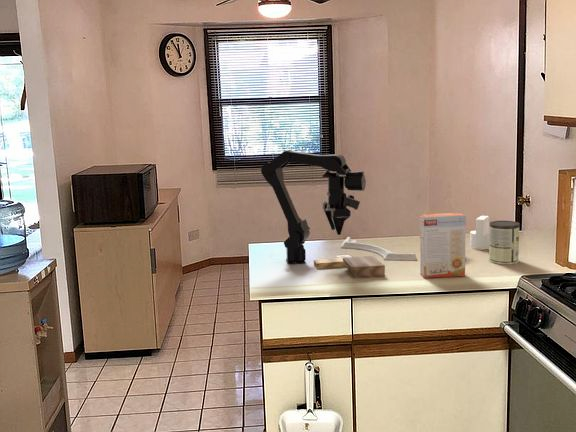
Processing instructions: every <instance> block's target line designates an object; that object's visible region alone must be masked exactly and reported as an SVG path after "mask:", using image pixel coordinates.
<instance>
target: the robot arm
mask: <svg viewBox="0 0 576 432" xmlns="http://www.w3.org/2000/svg"><path fill="white" fill-rule="evenodd" d="M290 162H291V163H296V164H303V165H304V164H305V165H311V166H316V167H320V168H321V169H324V170H326V171H325V172H324V174H323V175H322V178H328V179H327V181H328V182H327V191H326V195H327V197H328V198H327V201H326V200H325V201H324V202H323V203H322V209H323V212H324V215H325V217H326V219H327V221H328V224H329V227H330V229H331V231H335V232H336V235H337V236H341V234H342V231H343V228H344V223H345V221H346V220H348V219H349V218H350V217H351V210H350V209H349V208H352V209H354V210H358V209H359V206H360V203H361V201H360V200H358V199H355V196H354V195H352V194H348V195H347V194H346V192H345V189H347V190H348V191H357V192H358V191H359V192H360V191H361V192H364V191H365V190H366V186H367V185H366V181H367V180H366V177H365V171H352V170H351V169H350V167H349V166H348V164H347V163H346V158H345V156H344V155H343V154H339V153H338V154H333V153H332V154H317V153H316V154H315V153H310V152H303V151H302V152H301V151H295V150H292V149H287V150H284V151H282V152H281V153H280V154H279V155H278V156H276V157H275V158H273V159H272V160H271V161H269V162H265V163H264V164H263V165H262V166H261V169H260V172H261V175H262V177H263V178H264V179H265V181H266V183H268V185H270V186H271V188H272V189H273V191H274V194H275V197H276V198H277V201H278V204H279V206H280V208H281V210H282V213H283V215H284V217H285V219H286V222H287V232H288V237H287V238H286V240H285V241H283V245H284V248H285V249H286V258H285V260H286V263H287V264H288V265H292V264H305V263H306V258H307V257H306V256H307V255H306V249H305V246H304V244H305V242H306V241H307V240H308V238H309V237H310V234H311V233H310V232H311V231H310V230H311V228H310V227H309V225H308V222H307V221H308V220H307V219H306V218H305V219H302V218H300V216H299V214H298V211H297V209H296V208H295V204H294V202H293V200H292V198H291V196H290V193H289V192H288V189H287V187H286V185H285V181H284V171H283V169H284V168H285V167H286V166H288V165H289V163H290Z"/></svg>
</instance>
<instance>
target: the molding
mask: <svg viewBox="0 0 576 432" xmlns="http://www.w3.org/2000/svg"><path fill="white" fill-rule="evenodd" d="M340 248H341V249H351V250H352V249H353V250H359V251H366V252H371V253H373V254H376V255H379V256H380V257H382V258H383V260H384V261H414V262H416V259H417V257H416V254H417V253H410V252H409V253H408V252H407V253H405V252H403V253H401V252H398V253H397V252H392V251H391V250H389V249H386V248H383V247H381V246H378V245H374V244H369V243H365V242H364V243H363V242H362V243H361V242H358V240H356V239H353V240H352V238H351V237H350V236H348V237H346V238H345V239H344V240H343V241H342V243H341V246H340Z"/></svg>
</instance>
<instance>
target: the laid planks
mask: <svg viewBox="0 0 576 432" xmlns="http://www.w3.org/2000/svg"><path fill="white" fill-rule="evenodd" d="M342 258H343V261H344V262H345V263H346V265H347V267H346V268H347V270H348V271H349V272H350V273H351V274H352V275H353V276H354V278H355V279H362V278H365V279H366V278H377V277H378V278H379V277H385V276H386V275H385V274H386V271H385V270H386V268H385V264H384V263H383V262H382V261H380V259H378V258H377V257H376V256H375V255H362V256H349V257H342Z"/></svg>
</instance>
